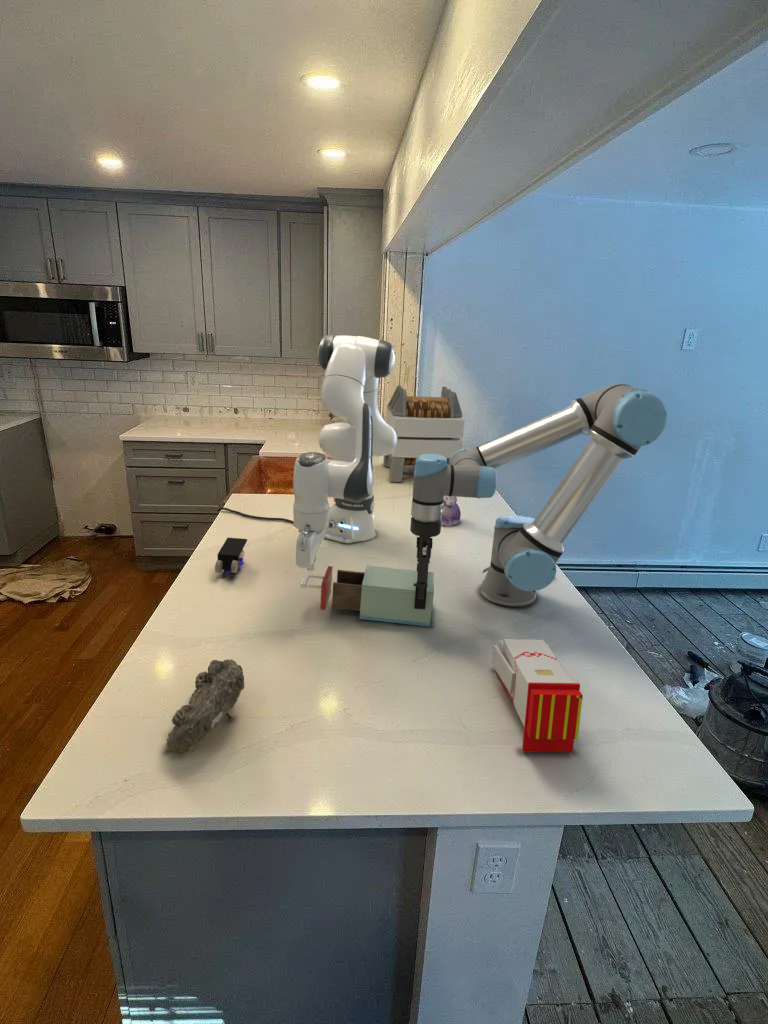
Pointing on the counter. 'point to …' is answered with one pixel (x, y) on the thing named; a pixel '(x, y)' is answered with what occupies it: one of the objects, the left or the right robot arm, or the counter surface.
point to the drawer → (339, 588)
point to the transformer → (423, 428)
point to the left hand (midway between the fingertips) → (311, 568)
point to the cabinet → (394, 596)
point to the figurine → (450, 511)
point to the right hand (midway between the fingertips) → (420, 597)
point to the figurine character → (230, 556)
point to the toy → (539, 694)
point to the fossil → (206, 705)
